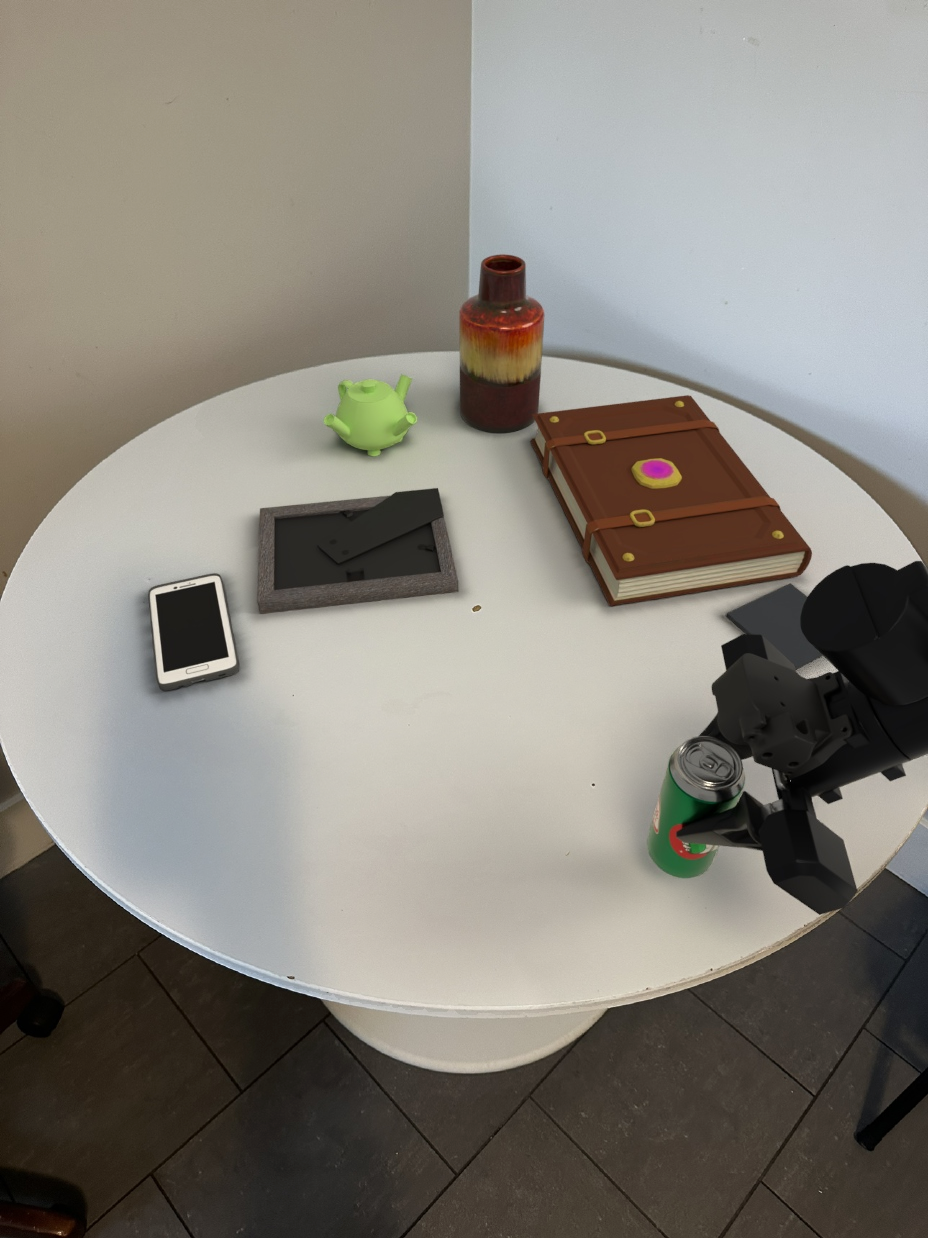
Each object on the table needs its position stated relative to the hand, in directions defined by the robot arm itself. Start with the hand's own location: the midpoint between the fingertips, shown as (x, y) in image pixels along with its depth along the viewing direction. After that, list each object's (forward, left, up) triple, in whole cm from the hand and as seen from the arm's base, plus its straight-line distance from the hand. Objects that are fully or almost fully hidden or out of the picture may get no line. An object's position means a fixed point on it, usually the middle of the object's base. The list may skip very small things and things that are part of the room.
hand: (675, 804), depth 58 cm
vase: (+1, -69, -10) cm, 69 cm away
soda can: (-1, 0, -7) cm, 7 cm away
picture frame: (+22, -42, -10) cm, 48 cm away
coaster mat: (-22, -24, -9) cm, 34 cm away
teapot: (+18, -64, -10) cm, 67 cm away
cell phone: (+39, -32, -9) cm, 51 cm away
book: (-14, -46, -10) cm, 49 cm away
